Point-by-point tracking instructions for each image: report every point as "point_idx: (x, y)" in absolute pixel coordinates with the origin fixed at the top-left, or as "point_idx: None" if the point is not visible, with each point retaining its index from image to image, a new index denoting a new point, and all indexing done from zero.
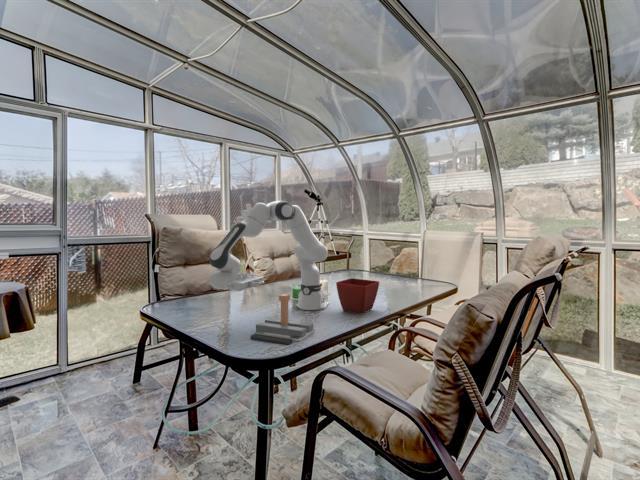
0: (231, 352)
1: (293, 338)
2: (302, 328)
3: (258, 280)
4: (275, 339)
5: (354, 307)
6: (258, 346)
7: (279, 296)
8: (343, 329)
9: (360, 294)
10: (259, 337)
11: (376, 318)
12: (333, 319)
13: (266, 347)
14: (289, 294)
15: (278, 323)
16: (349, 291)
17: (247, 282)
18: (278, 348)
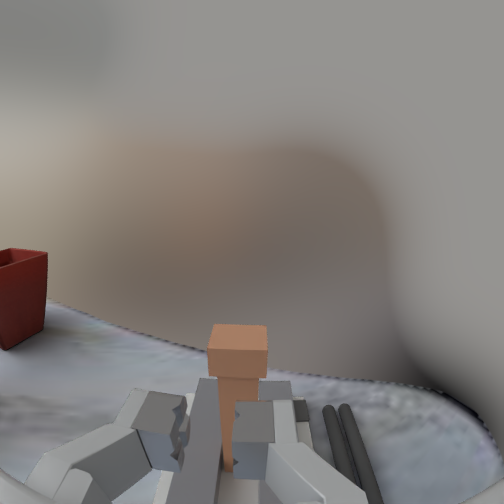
0: (490, 466)
1: (306, 413)
2: (266, 387)
3: (68, 469)
4: (360, 436)
5: (29, 322)
6: (414, 458)
7: (267, 353)
8: (162, 351)
9: (40, 279)
10: (378, 487)
11: (80, 315)
12: (71, 370)
13: (402, 439)
14: (216, 324)
15: (216, 486)
16: (15, 285)
17: (474, 498)
18: (383, 415)
